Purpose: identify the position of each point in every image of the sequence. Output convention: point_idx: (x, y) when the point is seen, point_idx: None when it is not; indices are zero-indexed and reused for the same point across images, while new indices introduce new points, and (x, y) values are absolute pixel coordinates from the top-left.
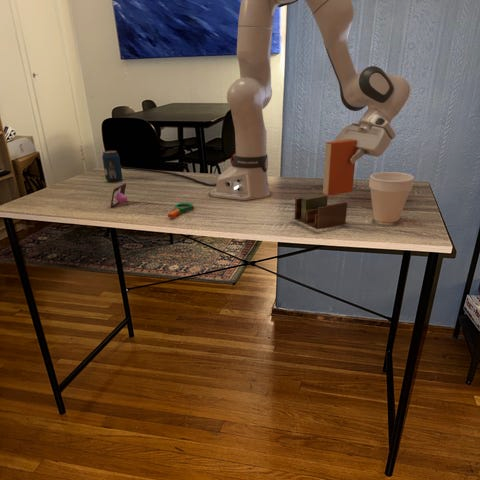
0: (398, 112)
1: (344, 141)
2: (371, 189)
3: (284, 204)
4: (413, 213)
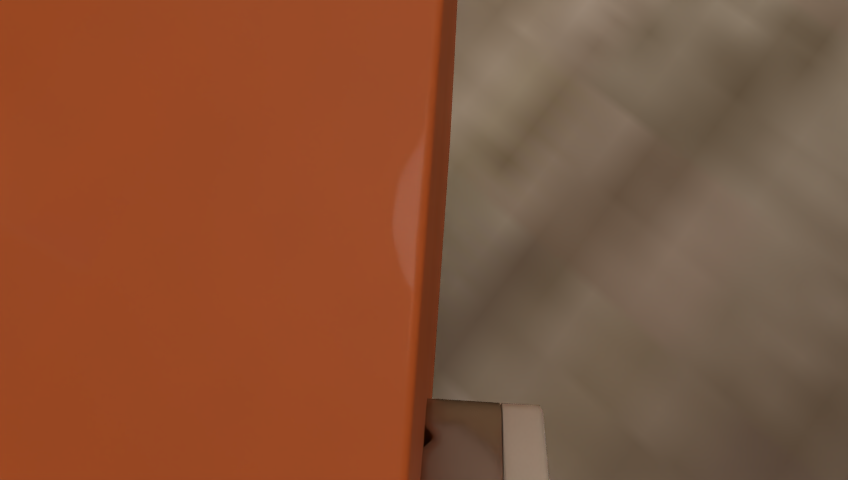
0: None
1: (13, 90)
2: None
3: (803, 17)
4: None
